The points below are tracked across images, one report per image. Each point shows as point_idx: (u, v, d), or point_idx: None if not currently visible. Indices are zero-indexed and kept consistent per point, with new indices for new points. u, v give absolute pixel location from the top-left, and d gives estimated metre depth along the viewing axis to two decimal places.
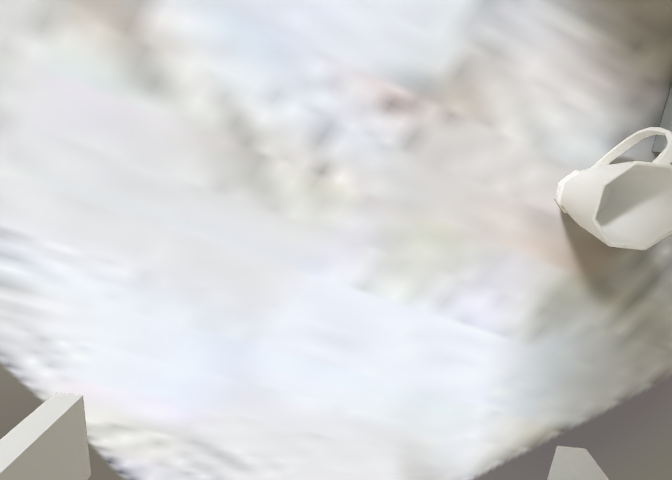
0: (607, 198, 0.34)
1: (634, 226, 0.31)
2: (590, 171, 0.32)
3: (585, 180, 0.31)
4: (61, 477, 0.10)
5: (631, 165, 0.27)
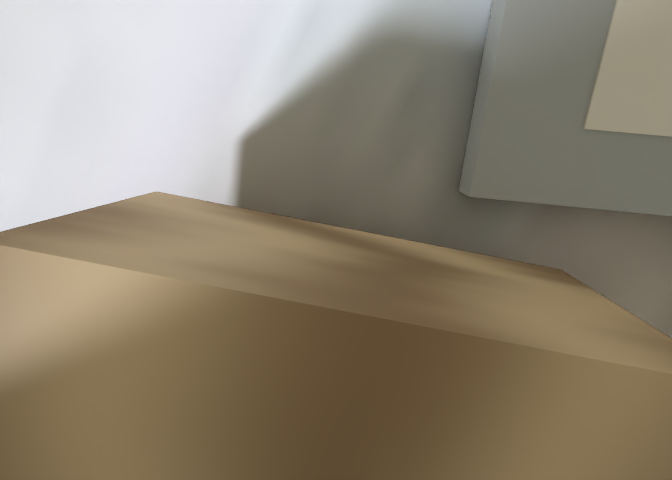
0: None
1: None
2: None
3: None
4: None
5: None
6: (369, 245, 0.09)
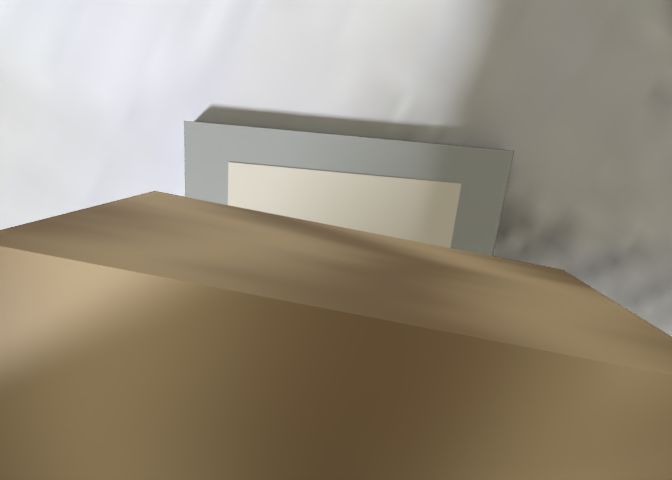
0: None
1: None
2: None
3: None
4: None
5: None
6: (369, 245, 0.09)
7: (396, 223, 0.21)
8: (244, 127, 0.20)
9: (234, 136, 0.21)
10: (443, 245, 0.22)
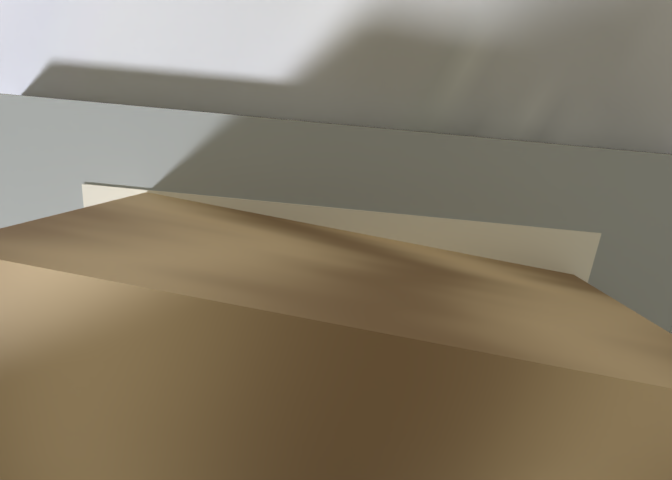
0: None
1: None
2: None
3: None
4: None
5: None
6: (372, 249, 0.08)
7: None
8: (110, 106, 0.09)
9: (89, 128, 0.09)
10: None
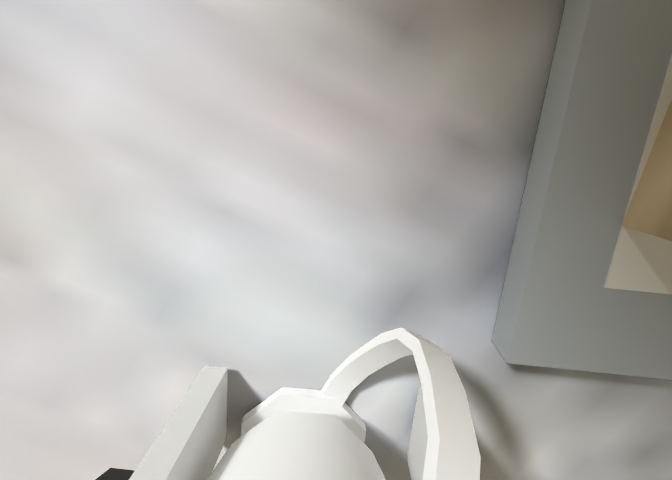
0: None
1: None
2: None
3: None
4: (216, 435, 0.11)
5: None
6: None
7: None
8: None
9: None
10: None
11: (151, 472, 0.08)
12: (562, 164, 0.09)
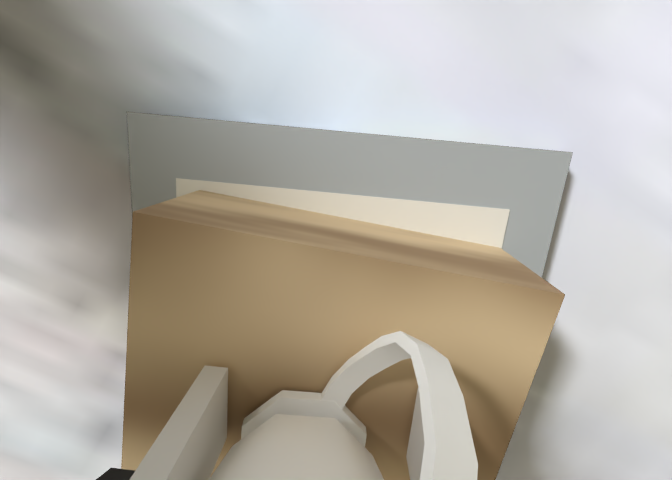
0: None
1: None
2: None
3: None
4: (216, 435, 0.11)
5: None
6: None
7: None
8: (551, 233, 0.16)
9: (541, 218, 0.16)
10: None
11: (151, 472, 0.08)
12: None
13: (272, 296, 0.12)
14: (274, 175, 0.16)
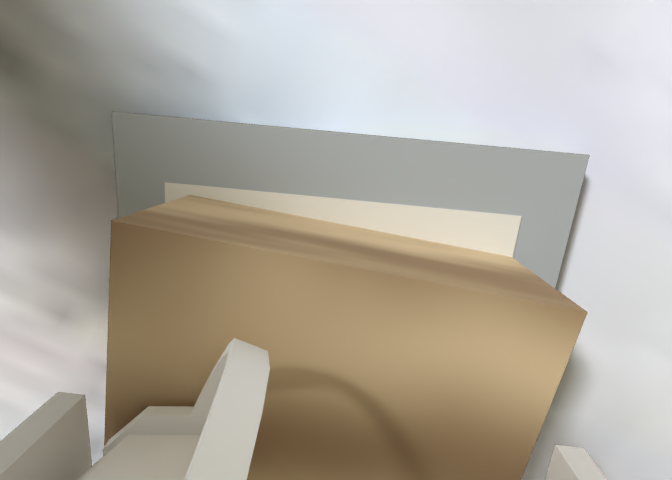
0: None
1: None
2: None
3: None
4: (63, 476, 0.10)
5: None
6: None
7: None
8: (565, 241, 0.15)
9: (554, 226, 0.15)
10: None
11: None
12: None
13: (265, 313, 0.10)
14: (269, 179, 0.15)
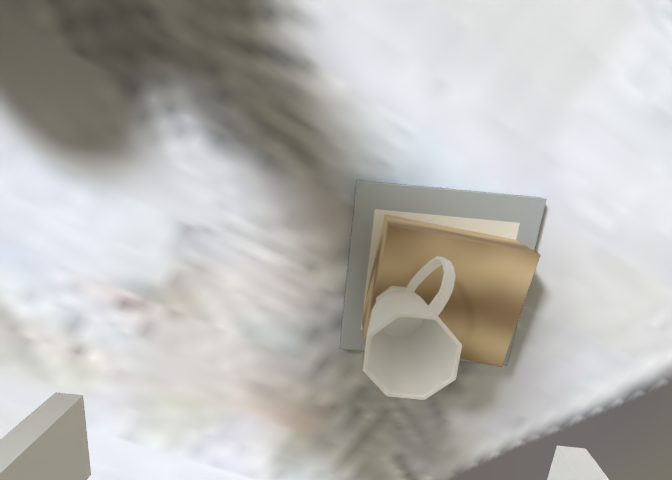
0: None
1: (427, 364, 0.28)
2: (386, 300, 0.29)
3: (373, 315, 0.28)
4: (61, 477, 0.10)
5: (393, 317, 0.25)
6: None
7: None
8: (537, 233, 0.36)
9: (533, 227, 0.36)
10: None
11: None
12: (346, 302, 0.39)
13: (435, 255, 0.32)
14: (418, 208, 0.36)
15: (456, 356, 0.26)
